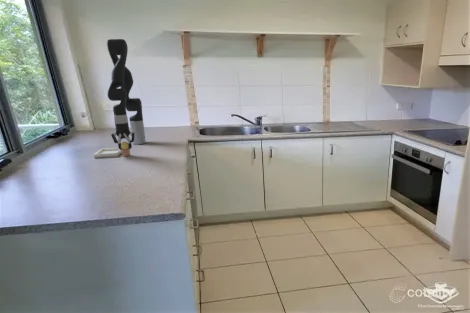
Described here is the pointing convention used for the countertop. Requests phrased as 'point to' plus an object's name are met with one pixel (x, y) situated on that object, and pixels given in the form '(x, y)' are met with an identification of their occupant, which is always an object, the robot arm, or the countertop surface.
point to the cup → (125, 152)
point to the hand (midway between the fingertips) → (125, 149)
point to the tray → (108, 153)
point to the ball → (124, 145)
